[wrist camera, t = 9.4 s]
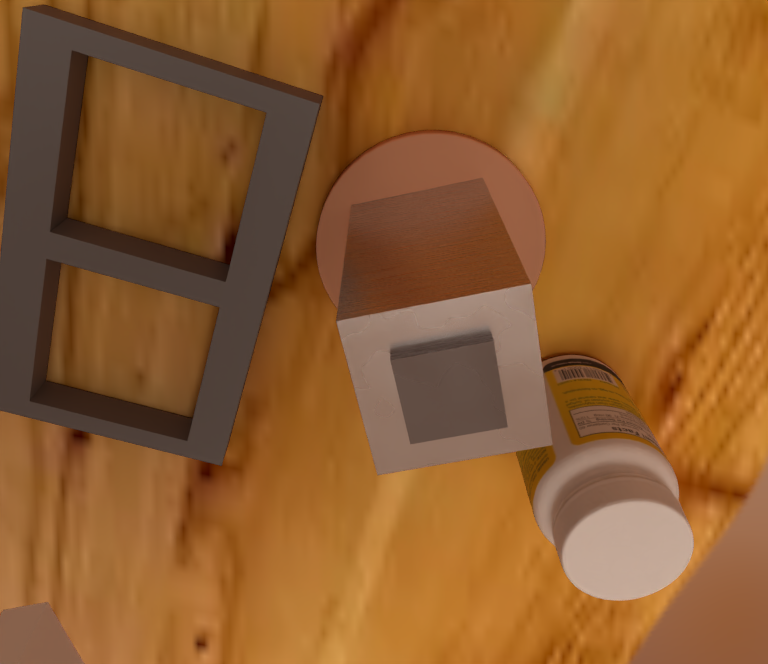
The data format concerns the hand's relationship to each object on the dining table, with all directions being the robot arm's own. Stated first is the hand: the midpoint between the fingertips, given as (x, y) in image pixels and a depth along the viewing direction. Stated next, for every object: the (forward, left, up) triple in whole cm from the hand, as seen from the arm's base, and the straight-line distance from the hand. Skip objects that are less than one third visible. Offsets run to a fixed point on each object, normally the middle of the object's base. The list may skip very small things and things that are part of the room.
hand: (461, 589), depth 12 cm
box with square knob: (0, 0, -16) cm, 16 cm away
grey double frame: (-9, -3, -16) cm, 19 cm away
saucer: (0, 0, -16) cm, 16 cm away
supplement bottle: (+8, -5, -17) cm, 19 cm away
